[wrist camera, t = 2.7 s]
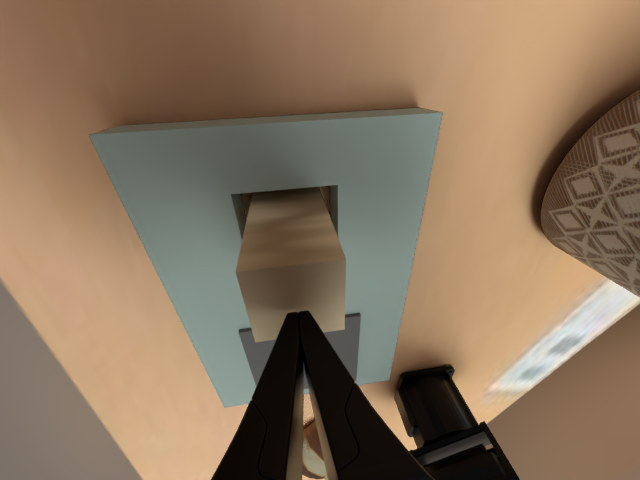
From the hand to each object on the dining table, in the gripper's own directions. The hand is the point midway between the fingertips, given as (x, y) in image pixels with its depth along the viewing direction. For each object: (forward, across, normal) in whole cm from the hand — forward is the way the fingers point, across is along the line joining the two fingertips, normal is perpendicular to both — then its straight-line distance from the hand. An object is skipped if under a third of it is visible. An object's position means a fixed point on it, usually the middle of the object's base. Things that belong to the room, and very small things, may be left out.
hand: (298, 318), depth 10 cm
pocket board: (+9, 0, +6) cm, 10 cm away
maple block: (+9, 0, 0) cm, 9 cm away
